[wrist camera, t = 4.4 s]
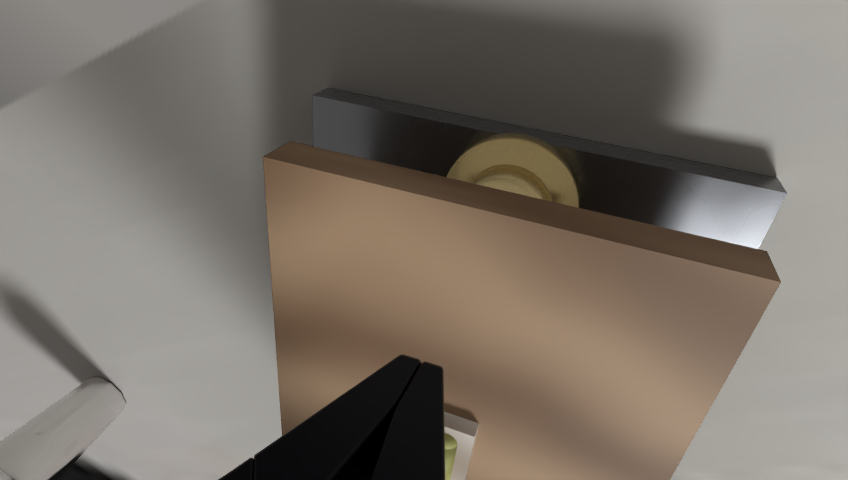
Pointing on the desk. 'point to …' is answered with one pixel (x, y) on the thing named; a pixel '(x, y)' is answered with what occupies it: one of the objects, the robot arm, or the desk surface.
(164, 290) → the desk surface
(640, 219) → the base
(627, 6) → the desk surface
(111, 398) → the milkshake
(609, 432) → the top plate
